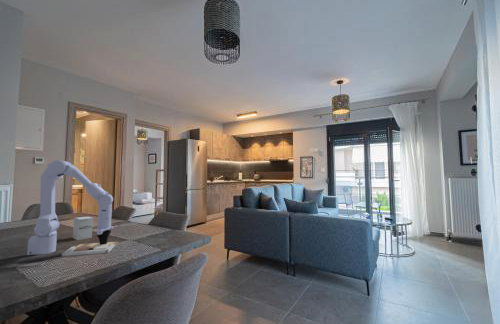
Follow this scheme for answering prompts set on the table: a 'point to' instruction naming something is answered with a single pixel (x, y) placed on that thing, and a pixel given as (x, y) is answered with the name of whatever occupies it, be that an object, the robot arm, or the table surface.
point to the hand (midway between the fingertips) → (103, 245)
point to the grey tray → (70, 253)
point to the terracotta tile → (82, 248)
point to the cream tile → (101, 247)
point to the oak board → (94, 244)
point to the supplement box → (82, 228)
